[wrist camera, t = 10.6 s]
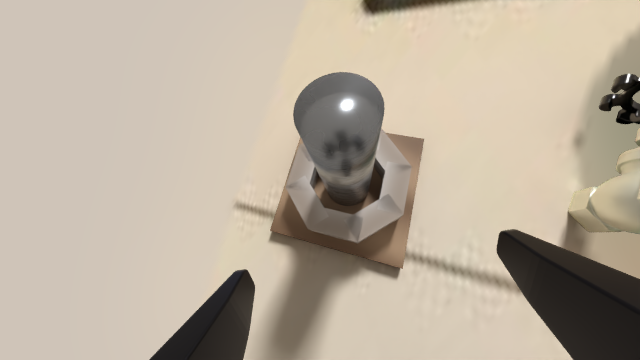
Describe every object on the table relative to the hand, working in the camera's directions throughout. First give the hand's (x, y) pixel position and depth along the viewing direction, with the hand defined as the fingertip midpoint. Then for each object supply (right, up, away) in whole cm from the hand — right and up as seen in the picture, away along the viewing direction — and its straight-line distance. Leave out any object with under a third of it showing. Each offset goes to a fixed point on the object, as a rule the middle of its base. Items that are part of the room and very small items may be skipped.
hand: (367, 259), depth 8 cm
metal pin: (+1, +2, +13) cm, 13 cm away
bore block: (+1, +2, +14) cm, 14 cm away
